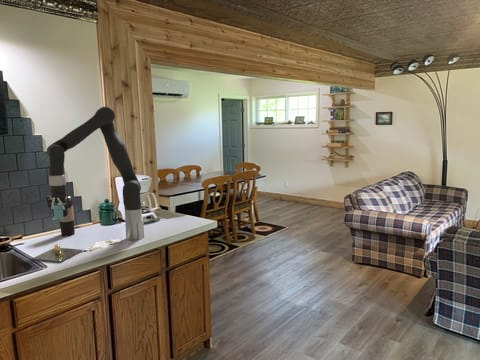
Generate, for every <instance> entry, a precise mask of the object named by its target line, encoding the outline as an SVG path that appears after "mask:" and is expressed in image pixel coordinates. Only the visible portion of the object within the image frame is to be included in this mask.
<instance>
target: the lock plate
mask: <svg viewBox="0 0 480 360" xmlns="http://www.w3.org/2000/svg"><path fill="white" fill-rule="evenodd" d="M53 246H54V248H52V249H49V250H47V251H44V252H43V253H41V254H38V255H36V256H34V257H32V258H31V261H32V262H45V263H54V264H62V263H64V262H65V261H67V260H69V259H71V258H73V257H75V256H77V255H79V254H80V253H81V254H82V253H83V252H82V251H83V249H79V248H78V249H77V248H66V247H61V245H60V244H54V245H53Z"/></svg>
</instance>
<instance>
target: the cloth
mask: <svg viewBox="0 0 480 360" xmlns="http://www.w3.org/2000/svg"><path fill="white" fill-rule="evenodd" d="M123 240H124V238H118V239H108V240H104V241H102V240H101V241H97V242H94V243H92V244H91V245H90V246H88V247H87V248H86V249H82V252H81V253H83V252H89V250H90V251H91V252H93V251H97V250H101V249H105V248H107V247H109V246H110V245H113V244H117V243H122V241H123Z"/></svg>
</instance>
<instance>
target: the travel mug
mask: <svg viewBox="0 0 480 360" xmlns="http://www.w3.org/2000/svg"><path fill="white" fill-rule="evenodd" d="M74 212H75V211H74V204H73V200H72V202H71V208H68V216H67V218H64V219H59V227H60V235H61V237H70V236H74V235H75V234H76V232H75V231H76V229H75V214H74Z"/></svg>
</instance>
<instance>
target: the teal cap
mask: <svg viewBox="0 0 480 360" xmlns="http://www.w3.org/2000/svg"><path fill="white" fill-rule="evenodd" d="M63 204H64V203H63ZM64 206H65V205H64ZM53 209H54V216H53V217H52V218H51V220H52V221H56V220H57V221H58V220H60V219H64V218H67V216H68V215H67V216H66V217H64V216H63V208H62V206H61V205H60V204H59V203H58V204H56V205H53Z"/></svg>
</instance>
